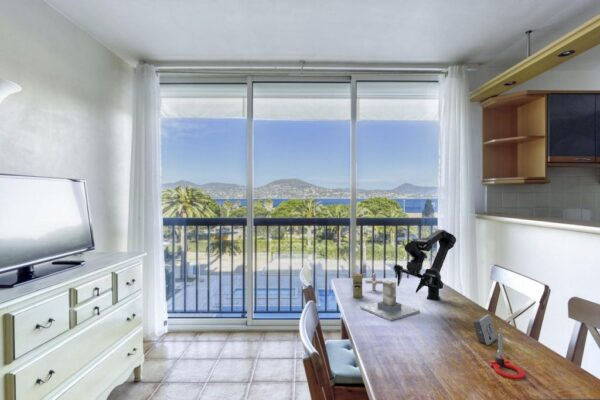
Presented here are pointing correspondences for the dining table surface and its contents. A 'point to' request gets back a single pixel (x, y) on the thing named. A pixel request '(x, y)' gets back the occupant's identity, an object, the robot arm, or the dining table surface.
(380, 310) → the socket plate
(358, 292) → the shoe polish box
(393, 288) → the birch peg
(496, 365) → the tow hook
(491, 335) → the electrical switch
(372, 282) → the pipe connector
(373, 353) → the dining table surface
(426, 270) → the robot arm
